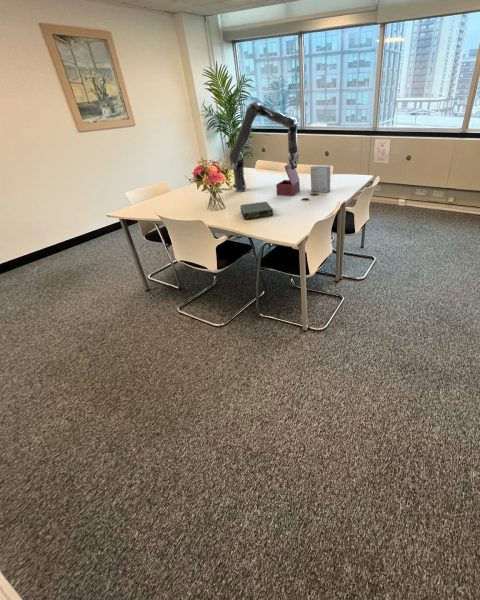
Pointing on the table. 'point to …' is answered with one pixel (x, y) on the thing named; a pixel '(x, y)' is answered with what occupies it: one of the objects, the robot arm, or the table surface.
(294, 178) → the purple box lid
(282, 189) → the dark red box
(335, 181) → the table surface
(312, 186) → the hard drive box
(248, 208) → the network switch
